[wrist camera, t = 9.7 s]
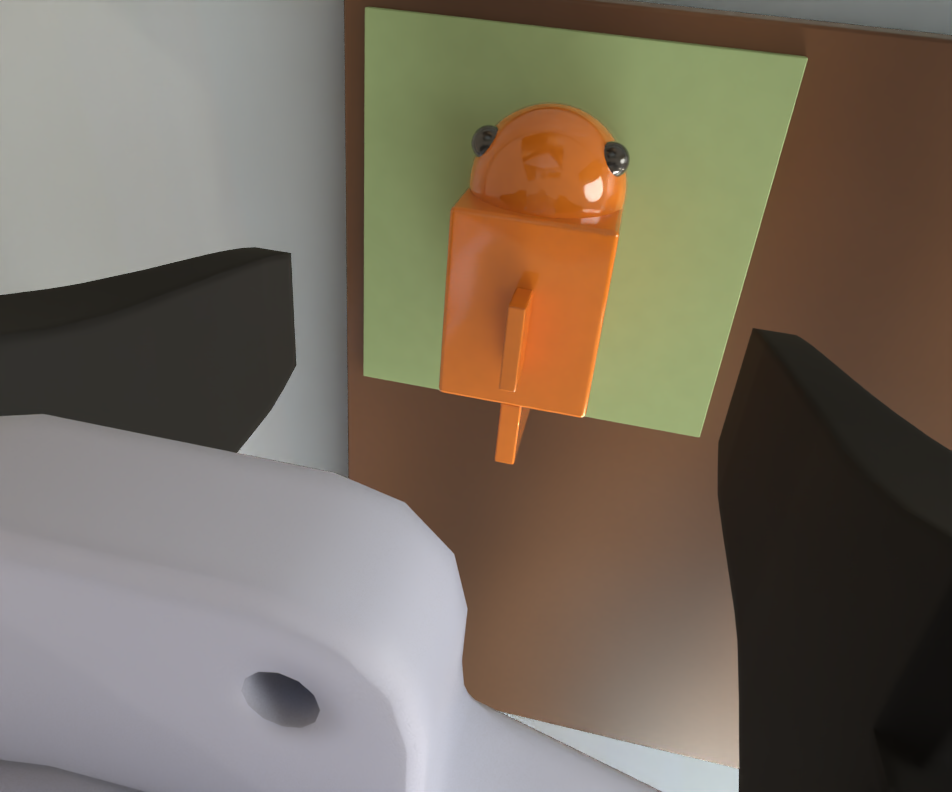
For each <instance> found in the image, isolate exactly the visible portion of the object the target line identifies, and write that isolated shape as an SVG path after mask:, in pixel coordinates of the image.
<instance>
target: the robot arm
mask: <svg viewBox="0 0 952 792" xmlns="http://www.w3.org/2000/svg"><path fill="white" fill-rule="evenodd" d="M295 367H296V350H295V329H294V308H293V287H292V267H291V253H287V252H280V251H274V250H268V249H262V248H256V247H254V248H240V249H233V250H227V251H222V252H217V253H212V254H208V255H204V256H199V257H195V258H191V259H187V260H183V261H179V262H174V263H170V264H166V265H162V266H158V267H154V268H150V269H146V270H141V271H137V272H132V273H128V274H123V275H118V276H114V277H109V278H104V279H100V280H95V281H91V282H86V283H81V284H75V285H70V286H64V287H58V288H51V289H45V290H37V291H30V292H22V293H15V294H6V295H0V792H661V791H659V790H657V789H655V788H653V787H651V786H649V785H647V784H645V783H643V782H641V781H639V780H637V779H635V778H633V777H631V776H629V775H627V774H625V773H623V772H621V771H619V770H617V769H614V768H612V767H610V766H608V765H606V764H604V763H602V762H600V761H598V760H596V759H594V758H592V757H590V756H588V755H586V754H584V753H582V752H580V751H578V750H576V749H574V748H572V747H570V746H568V745H566V744H564V743H562V742H560V741H558V740H556V739H554V738H552V737H549V736H547V735H545V734H543V733H541V732H539V731H537V730H535V729H533V728H531V727H529V726H527V725H525V724H523V723H521V722H519V721H517V720H515V719H513V718H511V717H509V716H507V715H505V714H503V713H501V712H499V711H497V710H495V709H493V708H491V707H489V706H487V705H485V704H482V703H480V702H478V701H476V700H475V699H474V698H473V697H472V696H471V695H470V694H469V693H468V692H467V690H466V688H465V686H464V680H463V668H462V656H463V647H464V637H465V628H466V619H467V609H468V608H467V604H466V600H465V596H464V592H463V588H462V584H461V580H460V576H459V572H458V567H457V563H456V559H455V555H454V553H453V552H452V551H451V550H450V549H449V548H448V547H447V546H446V545H445V544H444V543H443V542H442V541H441V540H440V539H439V537H438V536H437V535H436V534H435V533H434V532H433V531H432V530H431V529H430V528H429V527H428V526H427V525H426V524H425V523H424V522H423V521H422V520H421V519H420V518H419V517H418V516H417V514H416V513H415V512H414V511H413V510H412V509H411V508H410V507H409V506H408V505H407V504H406V503H405V502H403V501H400V500H398V499H395V498H393V497H391V496H388V495H386V494H384V493H381V492H379V491H377V490H374V489H372V488H370V487H367V486H365V485H362V484H360V483H358V482H355V481H353V480H351V479H348V478H346V477H344V476H341V475H339V474H336V473H334V472H329V471H324V470H319V469H314V468H309V467H304V466H299V465H294V464H289V463H284V462H279V461H274V460H269V459H264V458H259V457H254V456H249V455H244V454H239V453H237V452H238V451H239V450H240V448H241V447H242V446H243V445H244V443H245V442H246V441H247V440H248V438H249V437H250V436H251V435H252V433H253V432H254V431H255V430H256V428H257V427H258V426H259V425H260V423H261V422H262V421H263V420H264V418H265V417H266V416H267V414H268V413H269V412H270V411H271V409H272V408H273V406H274V404H275V402H276V401H277V399H278V397H279V396H280V394H281V392H282V391H283V389H284V387H285V385H286V383H287V381H288V380H289V378H290V376H291V374H292V372H293V370H294V368H295ZM718 502H719V510H720V517H721V524H722V531H723V538H724V545H725V552H726V559H727V565H728V572H729V579H730V585H731V592H732V599H733V606H734V612H735V622H736V632H737V645H738V687H739V792H952V451H951V450H949V449H948V448H946V447H945V446H943V445H941V444H940V443H938V442H937V441H935V440H934V439H932V438H931V437H929V436H928V435H926V434H925V433H923V432H922V431H921V430H919V429H918V428H916V427H915V426H914V425H912V424H911V423H909V422H908V421H907V420H905V419H904V418H902V417H901V416H900V415H898V414H897V413H895V412H894V411H893V410H891V409H890V408H889V407H887V406H886V405H885V404H884V403H882V402H881V401H880V400H878V399H877V398H876V397H874V396H873V395H872V394H871V393H869V392H868V391H867V390H866V389H864V388H863V387H862V386H861V385H860V384H858V383H857V382H856V381H855V380H853V379H852V378H851V377H850V376H849V375H847V374H846V373H845V372H844V371H843V370H841V369H840V368H839V367H838V366H837V365H835V364H834V363H833V362H832V361H831V360H830V359H828V358H827V357H826V356H825V355H823V354H822V353H821V352H820V351H819V350H817V349H816V348H815V347H813V346H812V345H811V344H810V343H808V342H807V341H805V340H804V339H802V338H801V337H799V336H797V335H793V334H787V333H781V332H775V331H769V330H763V329H756V328H753V329H752V332H751V336H750V339H749V342H748V346H747V349H746V352H745V355H744V359H743V362H742V365H741V369H740V372H739V375H738V379H737V382H736V385H735V389H734V392H733V395H732V398H731V402H730V405H729V408H728V412H727V415H726V418H725V422H724V425H723V428H722V432H721V435H720V438H719V442H718Z"/></svg>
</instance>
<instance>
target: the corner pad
mask: <svg viewBox="0 0 952 792" xmlns="http://www.w3.org/2000/svg"><path fill="white" fill-rule="evenodd" d="M807 60H808V58H807V57H806V56H799V55H790V54H781V53H772V52H764V51H755V50H746V49H737V48H728V47H720V46H711V45H702V44H693V43H685V42H676V41H667V40H658V39H649V38H641V37H632V36H623V35H614V34H606V33H597V32H588V31H579V30H571V29H562V28H553V27H544V26H535V25H527V24H518V23H509V22H500V21H492V20H483V19H474V18H465V17H456V16H448V15H439V14H430V13H421V12H413V11H404V10H395V9H386V8H378V7H365V70H364V363H363V375H364V376H368V377H373V378H378V379H384V380H389V381H395V382H400V383H406V384H411V385H416V386H422V387H427V388H433V389H438V390H440V389H439V375H440V360H441V344H442V329H443V313H444V297H445V282H446V266H447V251H448V235H449V219H450V210H451V208H452V207H453V205H454V204H455V203H456V202H457V200H458V199H459V198H460V197H461V195H462V194H463V193H464V192H465V190H466V189H467V188H468V187H469V176H470V168H471V165H472V161H473V158H474V155H475V154H474V152H473V150H472V147H471V140H472V136H473V134H474V132H475V131H476V130H477V129H478V128H480V127H481V126H484V125H495V124H496V123H497V122H498V121H499V120H501V119H502V118H504V117H505V116H506V115H508V114H509V113H511V112H513V111H515V110H517V109H519V108H522V107H524V106H527V105H531V104H535V103H542V102H558V103H564V104H569V105H572V106H575V107H578V108H581V109H583V110H585V111H586V112H588V113H590V114H592V115H593V116H594V117H596V118H597V119H599V120H600V121H601V122H602V123H603V124H604V125H605V126H606V127H607V128H608V130H609V131H610V132H611V133H612V134H613V136H614V138H615V139H616V141H617V142H619V143H621V144H623V145H624V146H625V147H626V148H627V150H628V152H629V155H630V163H629V166H628V169H627V183H628V188H627V195H626V200H625V206H624V212H623V218H622V224H621V230H620V236H619V241H618V247H617V252H616V257H615V263H614V268H613V273H612V279H611V284H610V289H609V295H608V300H607V305H606V311H605V316H604V321H603V327H602V332H601V337H600V343H599V348H598V353H597V359H596V364H595V370H594V375H593V380H592V386H591V391H590V396H589V402H588V407H587V412H586V415H585V417H590V418H596V419H601V420H607V421H612V422H618V423H623V424H628V425H634V426H639V427H645V428H650V429H656V430H661V431H667V432H672V433H677V434H683V435H688V436H694V437H700V434H701V431H702V427H703V424H704V420H705V417H706V413H707V410H708V406H709V403H710V399H711V396H712V392H713V389H714V385H715V382H716V378H717V375H718V371H719V368H720V364H721V361H722V357H723V354H724V350H725V347H726V343H727V340H728V336H729V333H730V329H731V326H732V322H733V319H734V315H735V312H736V308H737V305H738V301H739V298H740V294H741V291H742V287H743V284H744V280H745V277H746V273H747V270H748V266H749V263H750V259H751V256H752V252H753V249H754V245H755V242H756V238H757V235H758V231H759V228H760V224H761V221H762V217H763V214H764V210H765V207H766V203H767V200H768V196H769V193H770V189H771V186H772V183H773V179H774V176H775V172H776V169H777V165H778V162H779V158H780V155H781V151H782V148H783V144H784V141H785V137H786V134H787V130H788V127H789V123H790V120H791V116H792V113H793V109H794V106H795V102H796V99H797V95H798V92H799V88H800V85H801V81H802V78H803V74H804V71H805V67H806V64H807Z"/></svg>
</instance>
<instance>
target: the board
mask: <svg viewBox="0 0 952 792" xmlns="http://www.w3.org/2000/svg"><path fill="white" fill-rule="evenodd" d="M365 7H378V8H386V9H395V10H404V11H413V12H421V13H430V14H439V15H448V16H456V17H465V18H474V19H483V20H492V21H500V22H509V23H518V24H527V25H535V26H544V27H553V28H562V29H571V30H579V31H588V32H597V33H606V34H614V35H623V36H632V37H641V38H649V39H658V40H667V41H676V42H685V43H693V44H702V45H711V46H720V47H728V48H737V49H746V50H755V51H764V52H772V53H781V54H790V55H799V56H806V57H807V58H808V60H807V64H806V67H805V71H804V74H803V78H802V81H801V85H800V88H799V92H798V95H797V99H796V102H795V106H794V109H793V113H792V116H791V120H790V123H789V127H788V130H787V134H786V137H785V141H784V144H783V148H782V151H781V155H780V158H779V162H778V165H777V169H776V172H775V176H774V179H773V183H772V186H771V189H770V193H769V196H768V200H767V203H766V207H765V210H764V214H763V217H762V221H761V224H760V228H759V231H758V235H757V238H756V242H755V245H754V249H753V252H752V256H751V259H750V263H749V266H748V270H747V273H746V277H745V280H744V284H743V287H742V291H741V294H740V298H739V301H738V305H737V308H736V312H735V315H734V319H733V322H732V326H731V329H730V333H729V336H728V340H727V343H726V347H725V350H724V354H723V357H722V361H721V364H720V368H719V371H718V375H717V378H716V382H715V385H714V389H713V392H712V396H711V399H710V403H709V406H708V410H707V413H706V417H705V420H704V424H703V427H702V431H701V434H700V437H694V436H688V435H683V434H677V433H672V432H667V431H661V430H656V429H650V428H645V427H639V426H634V425H628V424H623V423H618V422H612V421H607V420H601V419H596V418H590V417H585V416H584V417H581V418H579V417H574V416H568V415H563V414H558V413H552V412H547V411H541V410H536V409H530V411H529V414H528V418H527V421H526V424H525V428H524V431H523V435H522V438H521V441H520V445H519V448H518V452H517V455H516V458H515V462H514V464H507V463H502V462H496V461H495V459H494V457H495V449H496V440H497V432H498V423H499V414H500V406H501V403H498V402H492V401H487V400H482V399H476V398H471V397H465V396H460V395H454V394H449V393H444V392H441V391H440V390H438V389H433V388H427V387H422V386H416V385H411V384H406V383H400V382H395V381H389V380H384V379H378V378H373V377H368V376H364V375H363V363H364V70H365ZM344 44H345V152H346V260H347V367H348V475H349V479H351V480H353V481H355V482H358V483H360V484H362V485H365V486H367V487H370V488H372V489H374V490H377V491H379V492H381V493H384V494H386V495H388V496H391V497H393V498H395V499H398V500H400V501H403V502H405V503H406V504H407V505H408V506H409V507H410V508H411V509H412V510H413V511H414V512H415V513H416V514H417V516H418V517H419V518H420V519H421V520H422V521H423V522H424V523H425V524H426V525H427V526H428V527H429V528H430V529H431V530H432V531H433V532H434V533H435V534H436V535H437V536H438V537H439V539H440V540H441V541H442V542H443V543H444V544H445V545H446V546H447V547H448V548H449V549H450V550H451V551H452V552H453V553H454V555H455V559H456V563H457V567H458V572H459V576H460V580H461V584H462V588H463V592H464V596H465V600H466V604H467V608H468V609H467V619H466V628H465V637H464V647H463V656H462V668H463V680H464V686H465V688H466V690H467V692H468V693H469V694H470V695H471V696H472V697H473V698H474V699H475V700H476V701H478V702H480V703H482V704H485V705H487V706H489V707H491V708H493V709H495V710H497V711H501V712H505V713H509V714H514V715H518V716H522V717H526V718H530V719H534V720H538V721H543V722H547V723H551V724H555V725H559V726H563V727H567V728H572V729H576V730H580V731H584V732H588V733H592V734H596V735H601V736H605V737H609V738H613V739H617V740H621V741H625V742H630V743H634V744H638V745H642V746H646V747H650V748H655V749H659V750H663V751H667V752H671V753H675V754H679V755H684V756H688V757H692V758H696V759H700V760H704V761H708V762H713V763H717V764H721V765H725V766H729V767H733V768H737V769H739V687H738V645H737V632H736V622H735V612H734V606H733V599H732V592H731V585H730V579H729V572H728V565H727V559H726V552H725V545H724V538H723V531H722V524H721V517H720V510H719V502H718V442H719V438H720V435H721V432H722V428H723V425H724V422H725V418H726V415H727V412H728V408H729V405H730V402H731V398H732V395H733V392H734V389H735V385H736V382H737V379H738V375H739V372H740V369H741V365H742V362H743V359H744V355H745V352H746V349H747V346H748V342H749V339H750V336H751V332H752V329H753V328H756V329H763V330H769V331H775V332H781V333H787V334H793V335H797V336H799V337H801V338H802V339H804V340H805V341H807V342H808V343H810V344H811V345H812V346H813V347H815V348H816V349H817V350H819V351H820V352H821V353H822V354H823V355H825V356H826V357H827V358H828V359H830V360H831V361H832V362H833V363H834V364H835V365H837V366H838V367H839V368H840V369H841V370H843V371H844V372H845V373H846V374H847V375H849V376H850V377H851V378H852V379H853V380H855V381H856V382H857V383H858V384H860V385H861V386H862V387H863V388H864V389H866V390H867V391H868V392H869V393H871V394H872V395H873V396H874V397H876V398H877V399H878V400H880V401H881V402H882V403H884V404H885V405H886V406H887V407H889V408H890V409H891V410H893V411H894V412H895V413H897V414H898V415H900V416H901V417H902V418H904V419H905V420H907V421H908V422H909V423H911V424H912V425H914V426H915V427H916V428H918V429H919V430H921V431H922V432H923V433H925V434H926V435H928V436H929V437H931V438H932V439H934V440H935V441H937V442H938V443H940V444H941V445H943V446H945V447H946V448H948V449H949V450H951V451H952V35H946V34H937V33H928V32H918V31H909V30H900V29H890V28H881V27H872V26H862V25H853V24H844V23H835V22H825V21H816V20H807V19H797V18H788V17H779V16H769V15H760V14H751V13H742V12H732V11H723V10H714V9H704V8H695V7H686V6H677V5H667V4H658V3H649V2H639V1H630V0H344Z"/></svg>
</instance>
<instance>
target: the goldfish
mask: <svg viewBox="0 0 952 792" xmlns="http://www.w3.org/2000/svg"><path fill="white" fill-rule="evenodd" d="M471 147H472V150H473V152H474V154H475V155H474V158H473V161H472V165H471V168H470V176H469V187H468V188H467V189H466V190H465V192H464V193H463V194H462V195H461V197H460V198H459V199H458V200H457V202H456V203H455V204H454V205H453V207H452V208H451V210H450V219H449V235H448V251H447V266H446V282H445V297H444V313H443V329H442V344H441V360H440V375H439V389H440V391H441V392H444V393H449V394H454V395H460V396H465V397H471V398H476V399H482V400H487V401H492V402H498V403H501V406H500V414H499V423H498V432H497V440H496V449H495V457H494V459H495V461H496V462H502V463H507V464H514V462H515V458H516V455H517V452H518V448H519V445H520V441H521V438H522V435H523V431H524V428H525V424H526V421H527V418H528V414H529V411H530V409H536V410H541V411H547V412H552V413H558V414H563V415H568V416H574V417H579V418H581V417H584V416H585V415H586V412H587V407H588V402H589V396H590V391H591V386H592V380H593V375H594V370H595V364H596V359H597V353H598V348H599V343H600V337H601V332H602V327H603V321H604V316H605V311H606V305H607V300H608V295H609V289H610V284H611V279H612V273H613V268H614V263H615V257H616V252H617V247H618V241H619V236H620V230H621V224H622V218H623V212H624V206H625V200H626V195H627V188H628V183H627V169H628V166H629V163H630V155H629V152H628V150H627V148H626V147H625V146H624V145H623V144H621V143H619V142H617V141H616V139H615V138H614V136H613V134H612V133H611V132H610V131H609V130H608V128H607V127H606V126H605V125H604V124H603V123H602V122H601V121H600V120H599V119H597V118H596V117H594V116H593V115H592V114H590V113H588V112H586V111H585V110H583V109H581V108H578V107H575V106H572V105H569V104H564V103H558V102H542V103H535V104H531V105H527V106H524V107H522V108H519V109H517V110H515V111H513V112H511V113H509V114H508V115H506V116H505V117H504V118H502V119H501V120H499V121H498V122H497V123H496V124H495V125H484V126H481V127H480V128H478V129H477V130H476V131H475V132H474V134H473V136H472V140H471Z"/></svg>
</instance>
